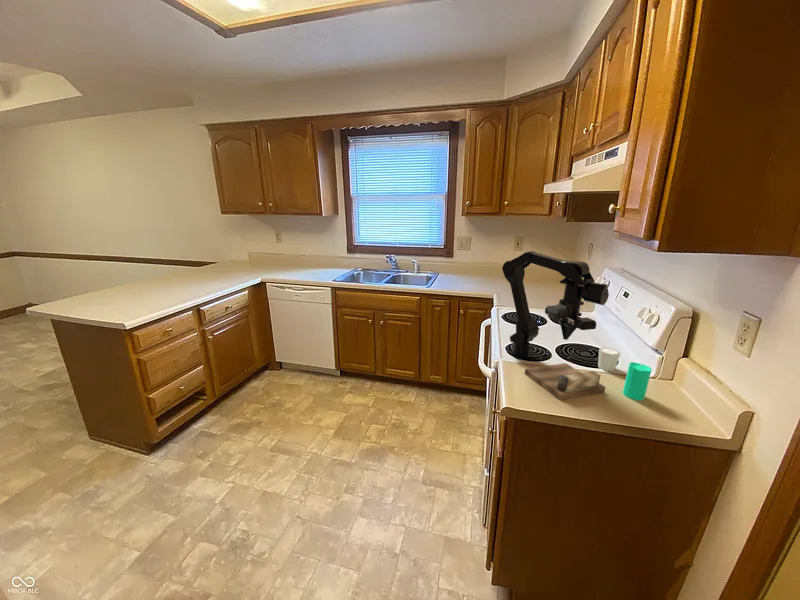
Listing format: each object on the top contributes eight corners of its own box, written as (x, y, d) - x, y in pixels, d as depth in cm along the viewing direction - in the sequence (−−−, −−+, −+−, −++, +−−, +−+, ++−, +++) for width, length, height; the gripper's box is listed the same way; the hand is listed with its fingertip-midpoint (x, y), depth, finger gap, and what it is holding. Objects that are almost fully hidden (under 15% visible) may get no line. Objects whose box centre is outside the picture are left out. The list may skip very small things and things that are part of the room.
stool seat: (524, 373, 127) (525, 368, 126) (564, 367, 132) (565, 362, 132) (560, 400, 110) (561, 394, 110) (604, 392, 116) (605, 386, 115)
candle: (618, 392, 116) (626, 359, 113) (630, 389, 118) (638, 356, 115) (636, 401, 111) (644, 367, 107) (648, 398, 113) (657, 364, 110)
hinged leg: (561, 391, 111) (563, 380, 110) (555, 386, 114) (556, 375, 113) (598, 384, 115) (600, 374, 114) (591, 380, 118) (593, 370, 117)
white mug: (619, 372, 129) (623, 355, 128) (599, 370, 131) (603, 353, 129) (612, 364, 136) (616, 348, 134) (593, 362, 137) (596, 346, 135)
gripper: (535, 292, 127) (529, 331, 132) (573, 307, 110) (565, 352, 115) (560, 290, 131) (554, 329, 135) (601, 305, 113) (592, 349, 118)
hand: (565, 339), depth 126 cm, fingers closed
